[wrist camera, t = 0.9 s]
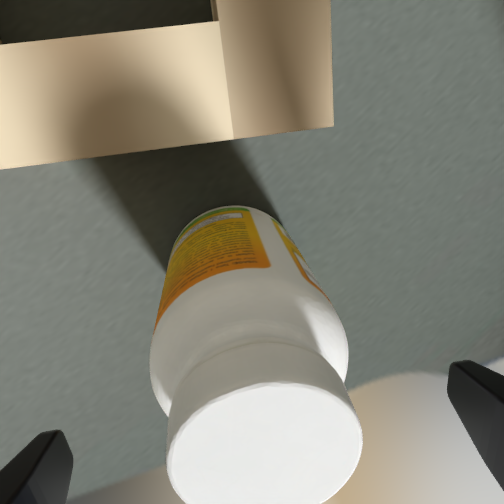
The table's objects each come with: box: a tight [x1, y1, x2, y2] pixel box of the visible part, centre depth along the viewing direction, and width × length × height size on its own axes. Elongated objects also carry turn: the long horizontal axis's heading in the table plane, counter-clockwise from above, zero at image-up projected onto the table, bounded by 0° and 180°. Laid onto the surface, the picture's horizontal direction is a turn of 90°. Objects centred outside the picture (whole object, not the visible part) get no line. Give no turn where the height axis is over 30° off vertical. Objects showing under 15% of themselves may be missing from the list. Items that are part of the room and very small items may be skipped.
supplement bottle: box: [149, 206, 363, 504], centre depth 12 cm, size 5×5×10 cm
